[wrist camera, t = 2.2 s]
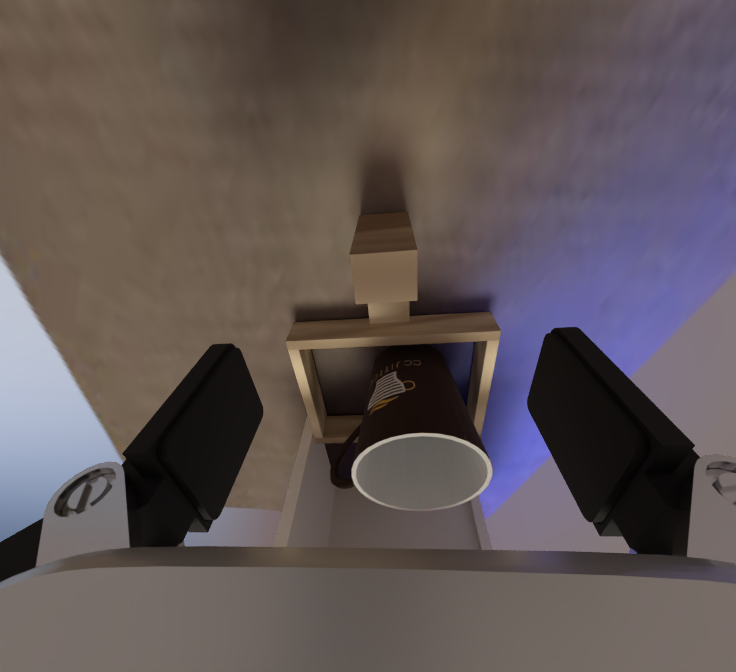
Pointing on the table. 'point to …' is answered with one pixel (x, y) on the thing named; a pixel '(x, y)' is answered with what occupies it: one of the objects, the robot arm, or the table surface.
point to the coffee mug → (415, 436)
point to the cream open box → (366, 514)
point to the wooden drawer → (388, 323)
